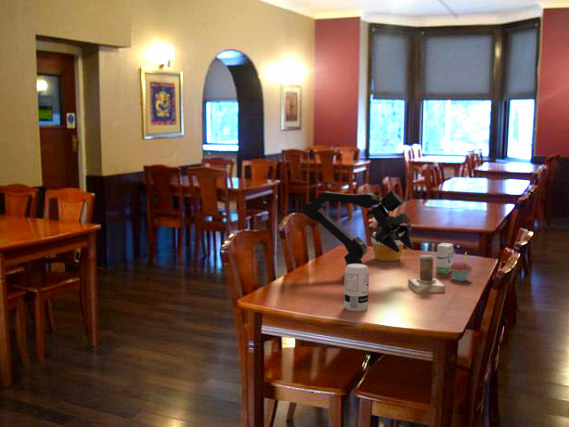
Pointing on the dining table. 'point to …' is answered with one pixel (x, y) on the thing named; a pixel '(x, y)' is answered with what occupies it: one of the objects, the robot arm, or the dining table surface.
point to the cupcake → (460, 270)
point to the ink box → (444, 258)
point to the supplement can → (356, 287)
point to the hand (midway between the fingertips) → (405, 250)
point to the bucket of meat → (383, 251)
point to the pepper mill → (426, 269)
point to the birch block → (426, 286)
